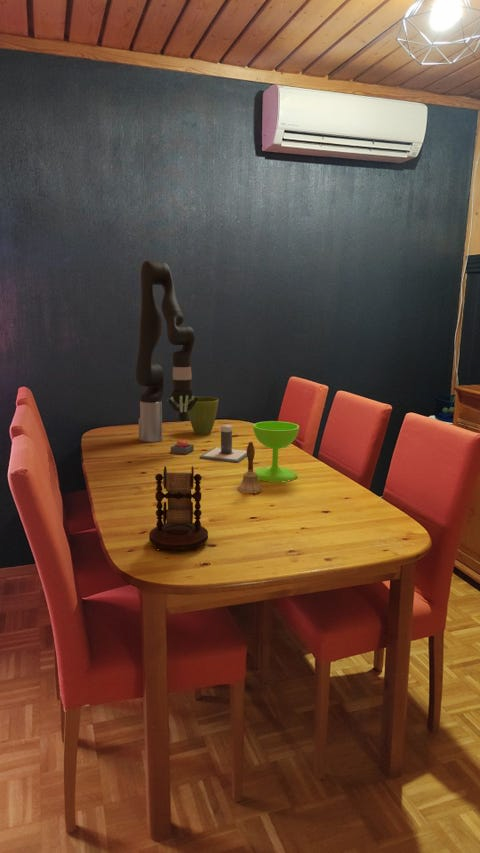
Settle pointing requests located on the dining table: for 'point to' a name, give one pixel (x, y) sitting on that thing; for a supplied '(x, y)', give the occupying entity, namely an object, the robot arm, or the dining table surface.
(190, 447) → the button base
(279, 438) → the wineglass
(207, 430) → the flower pot
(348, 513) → the dining table surface
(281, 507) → the dining table surface
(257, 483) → the hand bell
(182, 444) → the button
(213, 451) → the board
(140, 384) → the robot arm
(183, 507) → the scroll
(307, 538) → the dining table surface
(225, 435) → the canister
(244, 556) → the dining table surface
